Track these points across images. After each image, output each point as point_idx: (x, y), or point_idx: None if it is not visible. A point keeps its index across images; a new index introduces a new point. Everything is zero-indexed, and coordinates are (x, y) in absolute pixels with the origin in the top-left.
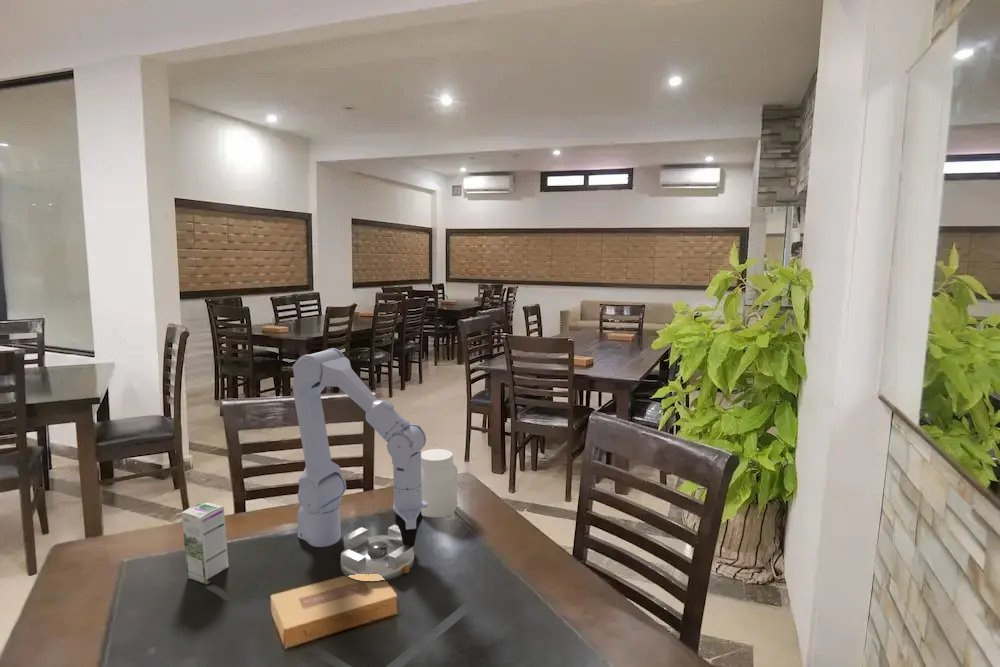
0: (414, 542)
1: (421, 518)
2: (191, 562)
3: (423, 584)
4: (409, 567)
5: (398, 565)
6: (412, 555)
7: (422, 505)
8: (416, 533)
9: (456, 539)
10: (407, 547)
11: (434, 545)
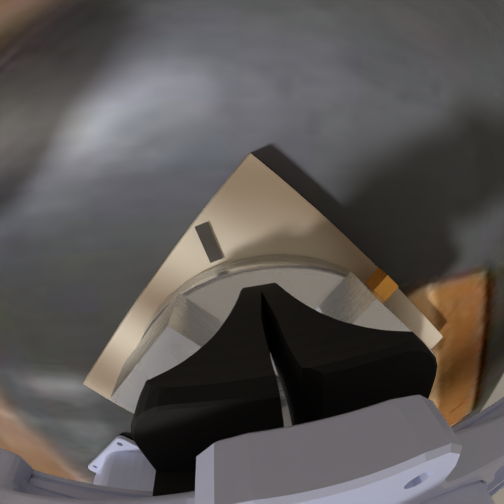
0: (282, 288)
1: (429, 353)
2: None
3: (401, 203)
4: (343, 269)
5: (404, 321)
6: (356, 277)
7: (447, 484)
8: (312, 308)
9: (65, 82)
10: (371, 322)
11: (104, 169)
